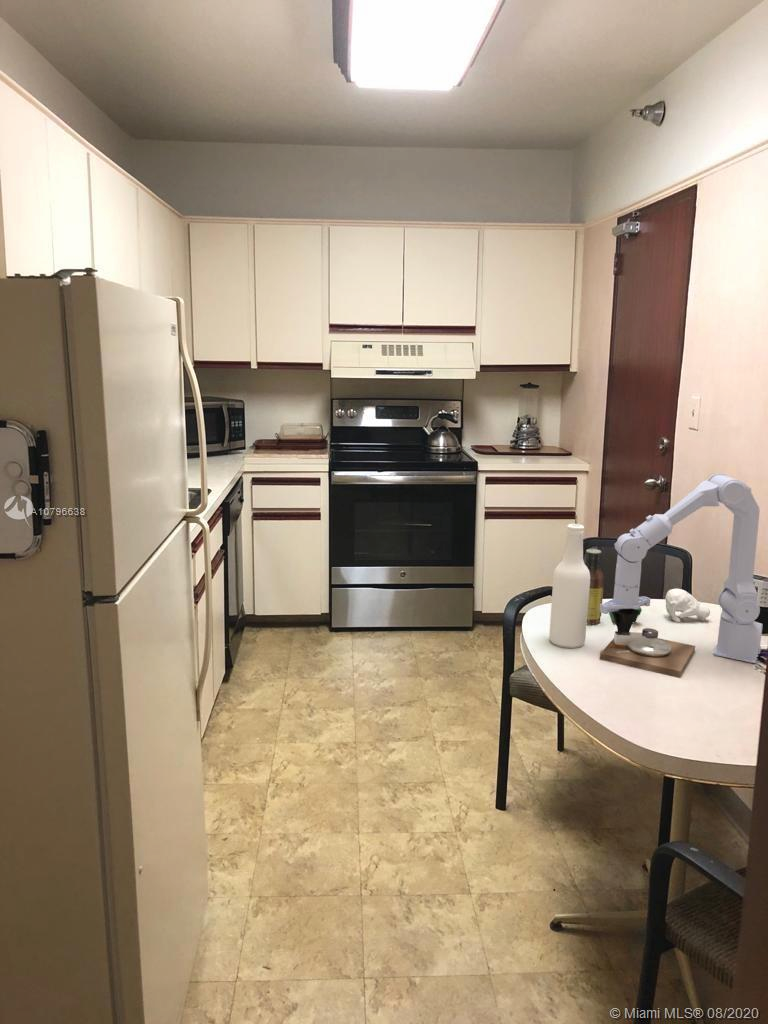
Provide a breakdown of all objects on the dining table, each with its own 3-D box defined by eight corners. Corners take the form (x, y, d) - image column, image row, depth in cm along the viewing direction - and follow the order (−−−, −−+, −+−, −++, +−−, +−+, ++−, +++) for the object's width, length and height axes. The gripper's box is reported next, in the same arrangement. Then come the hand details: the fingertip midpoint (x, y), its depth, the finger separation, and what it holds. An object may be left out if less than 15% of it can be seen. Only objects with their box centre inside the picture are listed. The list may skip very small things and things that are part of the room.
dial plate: (694, 651, 183) (695, 645, 182) (679, 677, 168) (680, 670, 167) (620, 635, 192) (620, 629, 192) (599, 659, 177) (600, 652, 177)
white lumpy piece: (665, 584, 207) (709, 590, 206) (659, 613, 209) (703, 619, 208) (672, 591, 201) (717, 598, 200) (665, 621, 202) (710, 628, 202)
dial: (664, 641, 184) (666, 624, 183) (675, 657, 174) (677, 640, 173) (610, 638, 185) (611, 621, 184) (618, 654, 175) (620, 636, 174)
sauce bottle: (582, 615, 206) (588, 545, 202) (604, 620, 203) (610, 550, 198) (572, 621, 202) (577, 550, 197) (594, 627, 198) (600, 554, 194)
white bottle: (553, 648, 183) (562, 529, 176) (545, 635, 191) (553, 521, 185) (589, 649, 183) (599, 529, 177) (579, 635, 192) (588, 521, 185)
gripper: (616, 592, 173) (611, 647, 176) (662, 584, 179) (656, 638, 182) (595, 584, 179) (590, 637, 182) (639, 576, 186) (635, 628, 188)
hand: (622, 637), depth 183 cm, fingers closed
